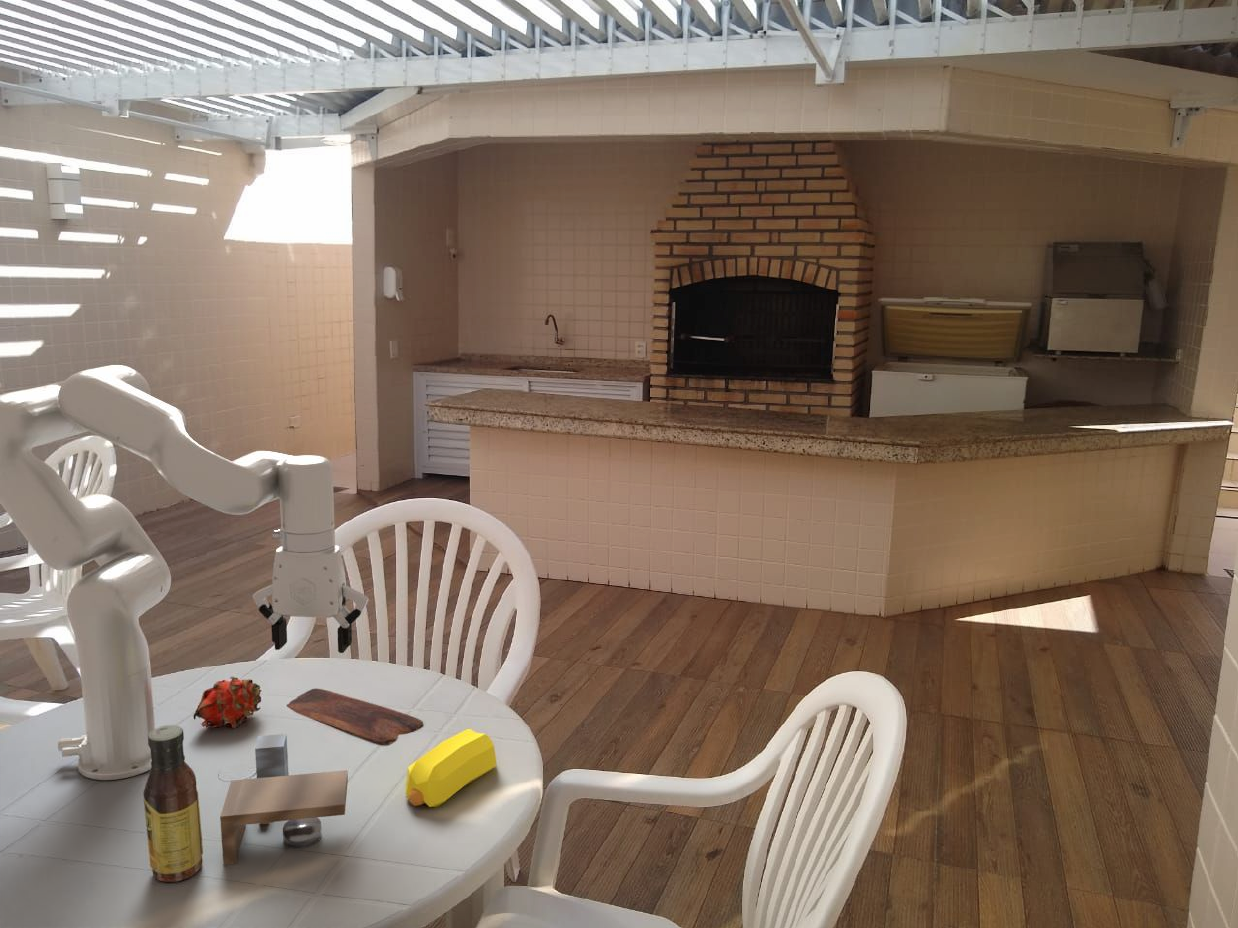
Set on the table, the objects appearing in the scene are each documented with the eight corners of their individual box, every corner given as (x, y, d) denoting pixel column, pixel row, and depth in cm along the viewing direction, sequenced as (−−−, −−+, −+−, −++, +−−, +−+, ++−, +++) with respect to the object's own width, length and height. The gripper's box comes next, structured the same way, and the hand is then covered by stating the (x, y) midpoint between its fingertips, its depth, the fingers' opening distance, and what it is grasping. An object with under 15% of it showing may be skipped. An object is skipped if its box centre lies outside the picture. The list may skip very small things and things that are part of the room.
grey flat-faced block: (249, 825, 135) (246, 780, 134) (261, 777, 148) (258, 735, 146) (279, 822, 136) (276, 777, 135) (288, 775, 149) (286, 733, 147)
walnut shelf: (223, 864, 127) (220, 816, 125) (234, 826, 135) (231, 780, 134) (346, 851, 130) (344, 804, 129) (349, 814, 139) (347, 770, 137)
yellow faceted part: (508, 765, 153) (470, 752, 157) (508, 727, 152) (470, 714, 156) (431, 819, 138) (391, 803, 142) (431, 777, 137) (390, 761, 141)
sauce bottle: (162, 856, 128) (150, 718, 124) (210, 855, 129) (201, 717, 124) (142, 887, 122) (129, 742, 118) (193, 886, 122) (182, 742, 118)
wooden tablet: (276, 701, 171) (319, 675, 179) (277, 712, 172) (321, 685, 180) (384, 743, 158) (426, 713, 166) (386, 755, 158) (427, 724, 166)
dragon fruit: (269, 720, 169) (202, 753, 161) (246, 683, 172) (179, 713, 164) (276, 695, 164) (207, 728, 156) (251, 657, 167) (182, 687, 159)
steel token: (281, 851, 130) (280, 838, 130) (285, 830, 135) (284, 817, 134) (320, 847, 131) (319, 834, 131) (322, 826, 136) (322, 813, 136)
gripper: (240, 544, 140) (245, 655, 143) (358, 549, 139) (361, 660, 143) (261, 530, 147) (266, 635, 151) (373, 535, 146) (376, 641, 150)
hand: (312, 647), depth 147 cm, fingers open, 9 cm apart
